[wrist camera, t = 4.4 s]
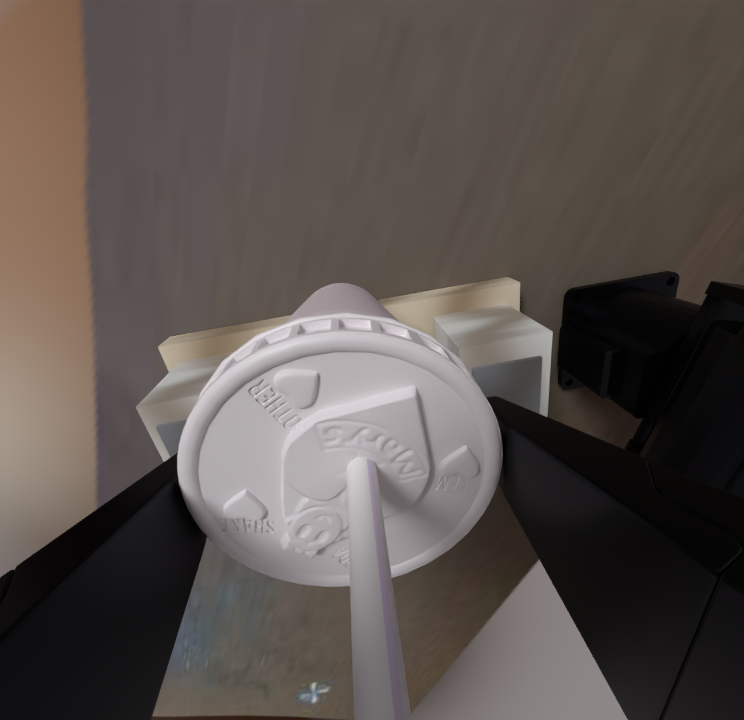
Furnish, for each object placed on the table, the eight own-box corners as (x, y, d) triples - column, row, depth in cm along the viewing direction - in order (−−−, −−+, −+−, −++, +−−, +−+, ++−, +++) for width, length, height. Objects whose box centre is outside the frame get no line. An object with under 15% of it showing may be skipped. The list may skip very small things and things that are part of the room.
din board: (507, 276, 20) (575, 307, 14) (506, 411, 24) (560, 477, 18) (170, 336, 20) (103, 391, 14) (223, 463, 23) (187, 547, 18)
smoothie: (441, 299, 16) (896, 742, 3) (366, 409, 18) (438, 957, 5) (311, 217, 14) (-14, 432, 1) (243, 350, 16) (-154, 975, 3)
